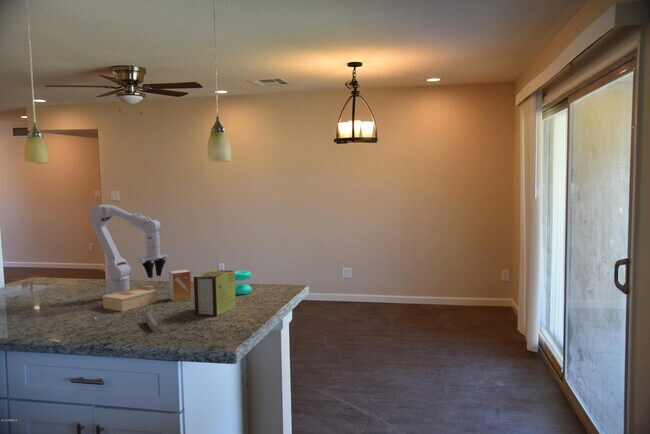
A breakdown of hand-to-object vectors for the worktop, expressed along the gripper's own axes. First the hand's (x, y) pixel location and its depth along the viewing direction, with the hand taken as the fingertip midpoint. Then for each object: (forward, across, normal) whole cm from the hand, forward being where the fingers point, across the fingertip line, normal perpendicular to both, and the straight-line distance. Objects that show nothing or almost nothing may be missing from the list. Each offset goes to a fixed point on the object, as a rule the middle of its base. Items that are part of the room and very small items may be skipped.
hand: (154, 276), depth 228 cm
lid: (+5, -14, 0) cm, 14 cm away
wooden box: (+10, -14, 0) cm, 17 cm away
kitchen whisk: (+11, -26, -26) cm, 39 cm away
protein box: (+11, -2, -38) cm, 40 cm away
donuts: (+11, +28, -27) cm, 40 cm away
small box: (+11, +4, -11) cm, 16 cm away
